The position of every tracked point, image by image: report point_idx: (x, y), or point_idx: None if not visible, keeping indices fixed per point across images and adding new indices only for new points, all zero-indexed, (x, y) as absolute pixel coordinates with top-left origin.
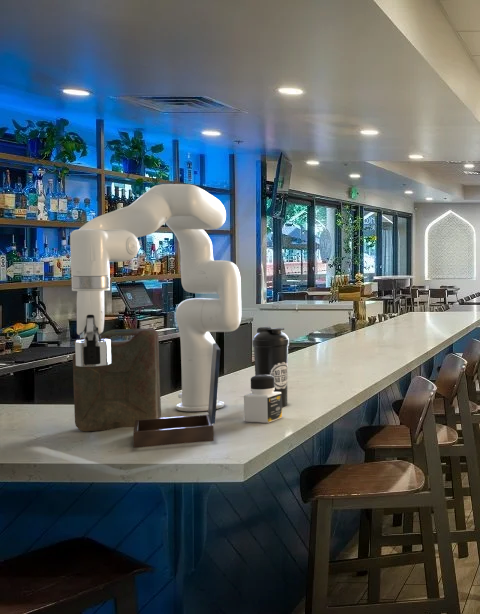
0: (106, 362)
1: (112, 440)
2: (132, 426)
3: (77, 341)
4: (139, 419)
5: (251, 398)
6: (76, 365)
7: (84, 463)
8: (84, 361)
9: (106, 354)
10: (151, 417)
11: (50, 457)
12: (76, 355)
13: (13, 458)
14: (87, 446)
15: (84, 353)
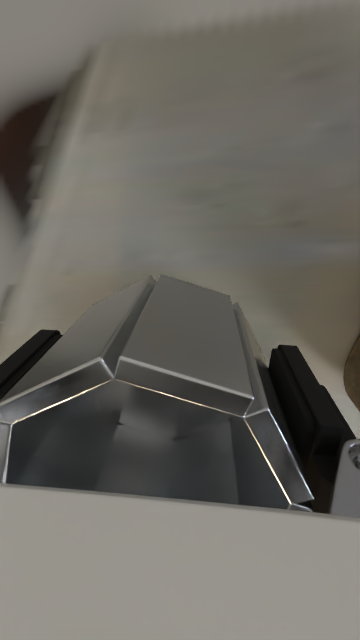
0: (115, 430)
1: (250, 293)
2: (357, 342)
3: (101, 381)
4: (357, 365)
5: None
6: (144, 278)
7: (30, 237)
8: (33, 338)
9: (101, 470)
10: (351, 391)
11: (119, 156)
12: (125, 304)
13: (147, 50)
14: (209, 239)
15: (3, 370)
